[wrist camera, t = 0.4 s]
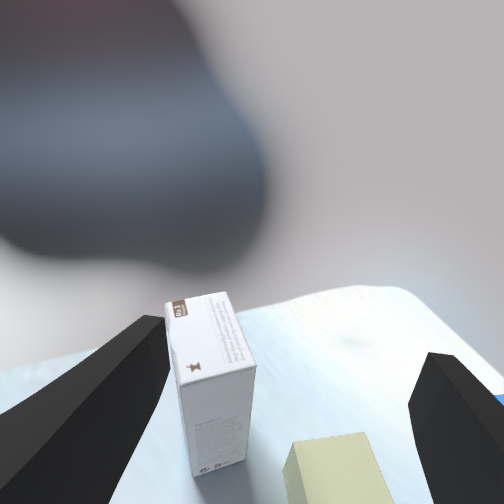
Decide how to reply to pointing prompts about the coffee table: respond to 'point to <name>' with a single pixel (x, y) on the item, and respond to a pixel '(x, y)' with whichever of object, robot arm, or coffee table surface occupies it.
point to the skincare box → (211, 380)
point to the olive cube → (334, 472)
